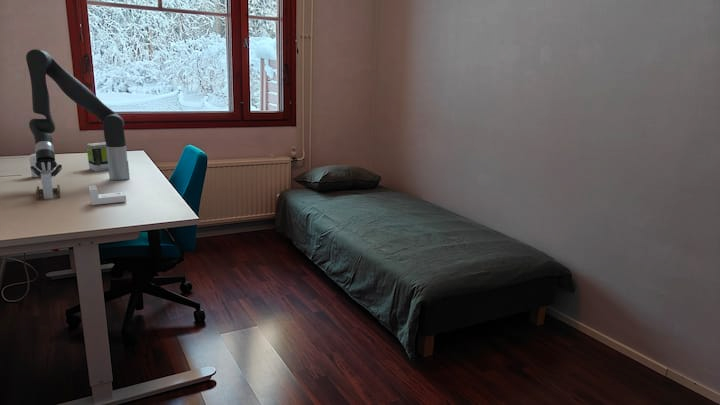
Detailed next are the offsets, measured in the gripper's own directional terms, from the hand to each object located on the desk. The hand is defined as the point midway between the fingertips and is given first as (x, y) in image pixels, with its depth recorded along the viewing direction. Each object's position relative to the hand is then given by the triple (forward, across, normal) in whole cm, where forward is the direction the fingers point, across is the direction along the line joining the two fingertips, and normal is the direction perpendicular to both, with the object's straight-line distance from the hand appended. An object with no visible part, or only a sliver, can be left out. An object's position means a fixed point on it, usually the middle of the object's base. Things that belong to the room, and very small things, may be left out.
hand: (48, 183), depth 223 cm
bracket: (+26, +22, -20) cm, 40 cm away
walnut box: (+10, 0, -4) cm, 10 cm away
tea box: (-32, +27, +38) cm, 56 cm away
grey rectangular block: (+10, 0, -4) cm, 11 cm away
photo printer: (-25, -3, +31) cm, 40 cm away
